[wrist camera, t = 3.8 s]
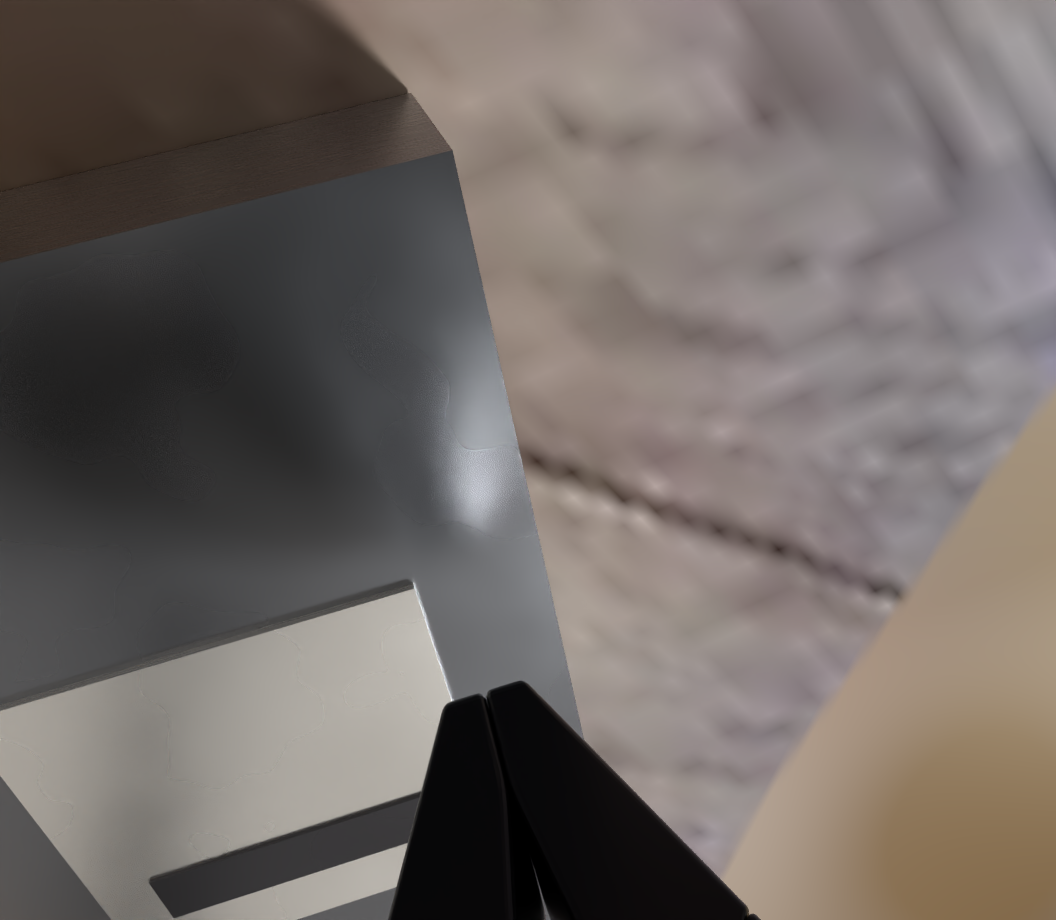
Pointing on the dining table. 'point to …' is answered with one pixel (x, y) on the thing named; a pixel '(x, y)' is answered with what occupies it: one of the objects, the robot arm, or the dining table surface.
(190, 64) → the dining table surface
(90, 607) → the power supply unit
